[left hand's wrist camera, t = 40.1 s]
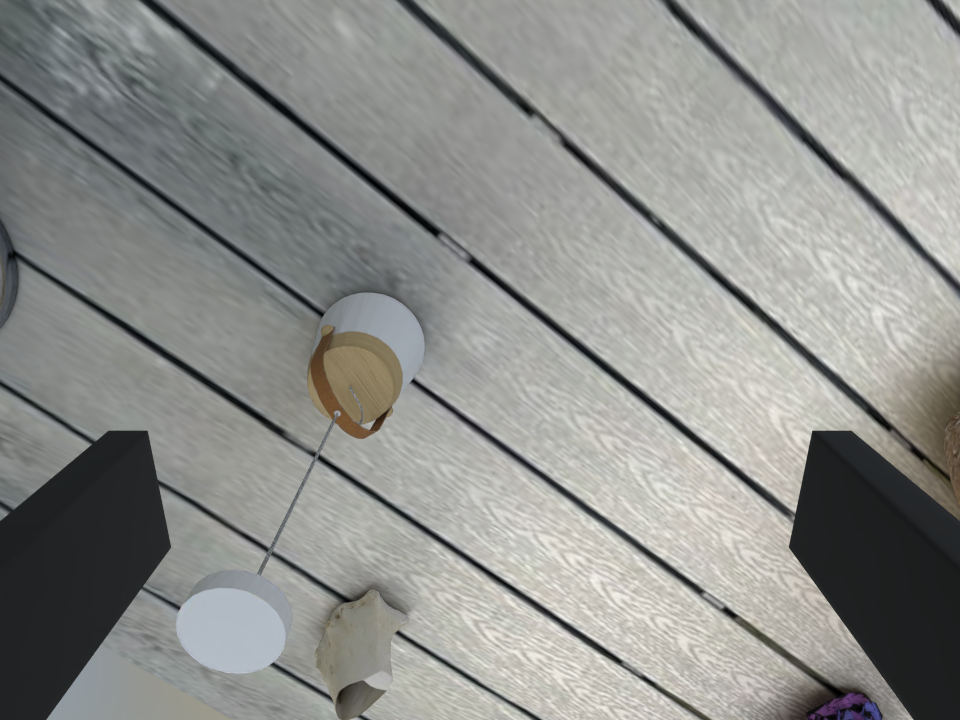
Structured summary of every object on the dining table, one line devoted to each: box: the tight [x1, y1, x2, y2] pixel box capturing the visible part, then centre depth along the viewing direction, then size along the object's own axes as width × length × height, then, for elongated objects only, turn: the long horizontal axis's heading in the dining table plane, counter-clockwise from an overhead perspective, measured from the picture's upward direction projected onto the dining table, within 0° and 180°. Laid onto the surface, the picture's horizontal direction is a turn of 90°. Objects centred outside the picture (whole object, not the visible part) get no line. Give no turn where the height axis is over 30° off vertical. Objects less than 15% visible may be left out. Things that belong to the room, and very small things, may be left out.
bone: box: [315, 589, 409, 720], centre depth 55 cm, size 9×8×10 cm
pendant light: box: [176, 293, 425, 674], centre depth 35 cm, size 8×8×30 cm
